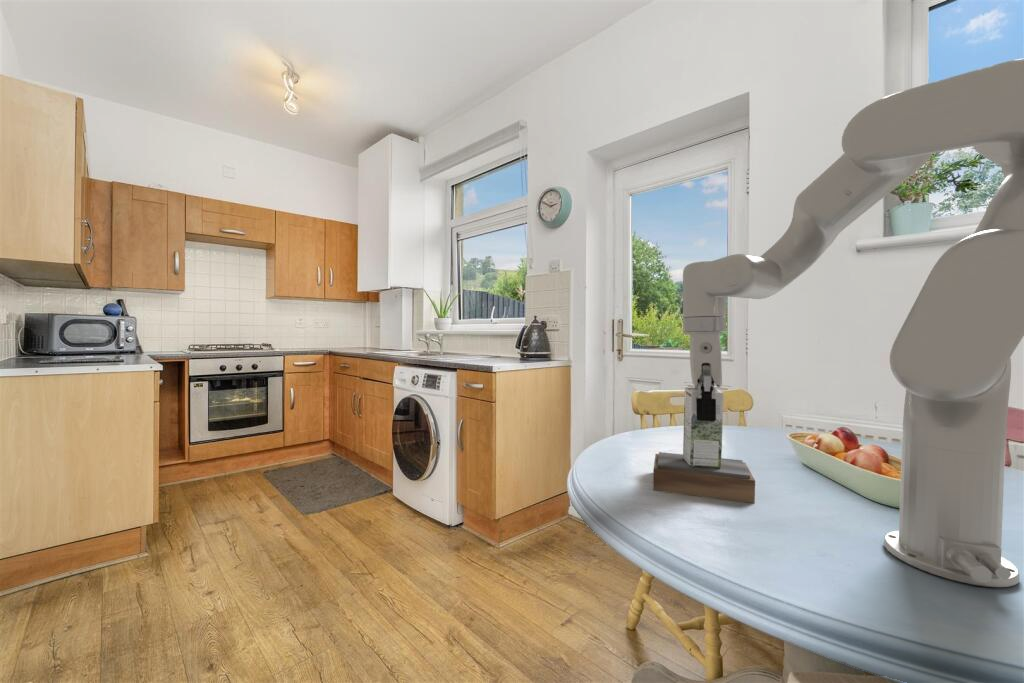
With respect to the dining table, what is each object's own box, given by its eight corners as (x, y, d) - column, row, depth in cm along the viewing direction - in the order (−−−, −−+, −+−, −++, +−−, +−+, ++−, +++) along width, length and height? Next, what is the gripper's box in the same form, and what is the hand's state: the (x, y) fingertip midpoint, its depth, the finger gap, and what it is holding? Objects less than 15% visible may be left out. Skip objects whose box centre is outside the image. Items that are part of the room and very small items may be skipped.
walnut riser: (754, 503, 76) (755, 477, 76) (653, 490, 82) (653, 466, 82) (744, 482, 87) (745, 459, 87) (655, 472, 93) (655, 450, 92)
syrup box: (712, 459, 86) (714, 387, 86) (722, 469, 80) (723, 391, 80) (682, 458, 87) (684, 386, 87) (689, 467, 81) (691, 390, 81)
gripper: (731, 325, 74) (731, 426, 74) (720, 327, 90) (721, 409, 90) (684, 326, 77) (684, 423, 77) (682, 328, 93) (682, 407, 93)
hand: (704, 415), depth 84 cm, fingers open, 9 cm apart
